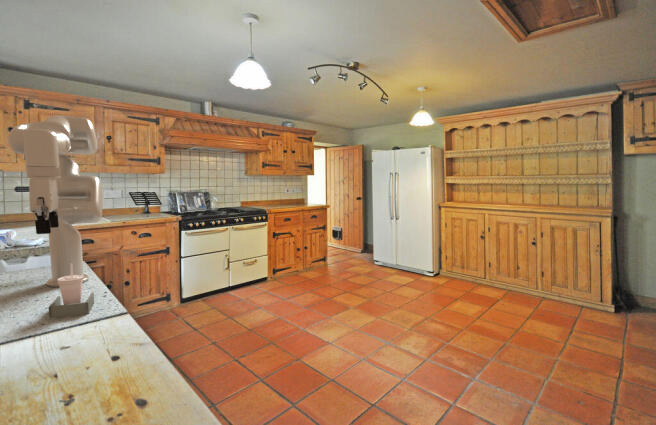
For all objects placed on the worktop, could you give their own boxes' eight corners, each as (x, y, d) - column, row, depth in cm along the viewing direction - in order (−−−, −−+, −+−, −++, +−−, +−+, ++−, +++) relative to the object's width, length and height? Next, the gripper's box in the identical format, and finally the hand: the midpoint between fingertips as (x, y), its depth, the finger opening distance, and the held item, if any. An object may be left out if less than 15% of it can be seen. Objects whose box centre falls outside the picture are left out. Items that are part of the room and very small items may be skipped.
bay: (58, 307, 104) (57, 296, 104) (94, 303, 108) (93, 292, 108) (49, 319, 96) (48, 307, 96) (88, 313, 100) (87, 302, 99)
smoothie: (71, 313, 98) (68, 266, 97) (53, 312, 99) (49, 265, 98) (91, 305, 105) (88, 261, 103) (73, 304, 106) (70, 260, 104)
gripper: (35, 171, 104) (40, 225, 106) (16, 173, 89) (22, 237, 91) (65, 171, 108) (69, 224, 110) (52, 174, 92) (57, 235, 95)
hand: (48, 230), depth 101 cm, fingers open, 9 cm apart
